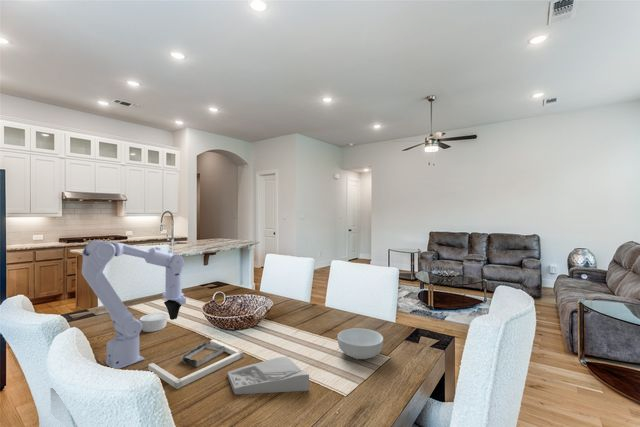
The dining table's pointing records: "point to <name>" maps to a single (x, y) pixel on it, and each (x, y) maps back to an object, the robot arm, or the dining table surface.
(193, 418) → the dining table surface
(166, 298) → the robot arm
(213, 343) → the trivet frame
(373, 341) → the cereal bowl
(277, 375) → the door stopper
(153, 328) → the ramekin
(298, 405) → the dining table surface
